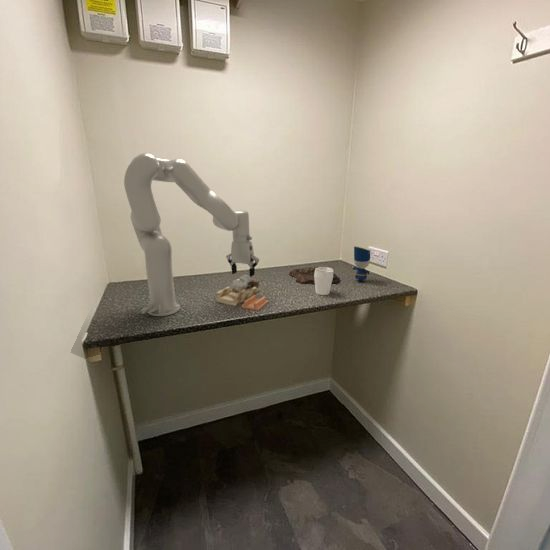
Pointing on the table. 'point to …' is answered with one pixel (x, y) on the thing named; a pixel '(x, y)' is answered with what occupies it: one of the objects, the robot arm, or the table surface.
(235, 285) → the grey metal cylinder
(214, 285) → the table surface
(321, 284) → the cup
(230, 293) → the beige elongated piece
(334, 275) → the stone relief
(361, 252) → the figurine
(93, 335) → the table surface
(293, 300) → the table surface
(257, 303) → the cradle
